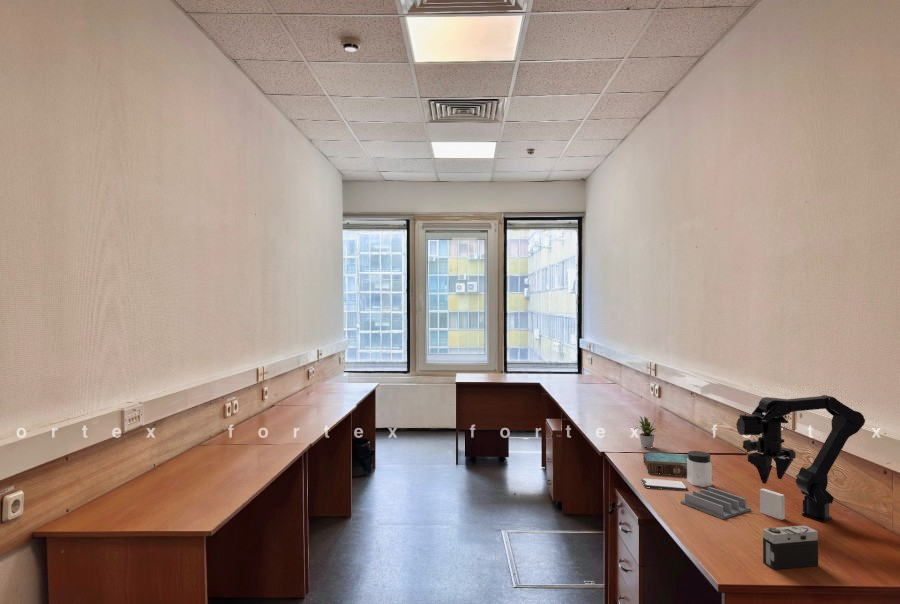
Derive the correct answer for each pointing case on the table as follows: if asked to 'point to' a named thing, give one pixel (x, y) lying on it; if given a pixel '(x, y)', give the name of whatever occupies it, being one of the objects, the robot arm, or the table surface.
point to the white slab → (772, 504)
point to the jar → (699, 469)
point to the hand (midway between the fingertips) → (772, 481)
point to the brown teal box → (666, 463)
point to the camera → (790, 547)
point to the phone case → (664, 484)
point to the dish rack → (716, 502)
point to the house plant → (646, 433)
